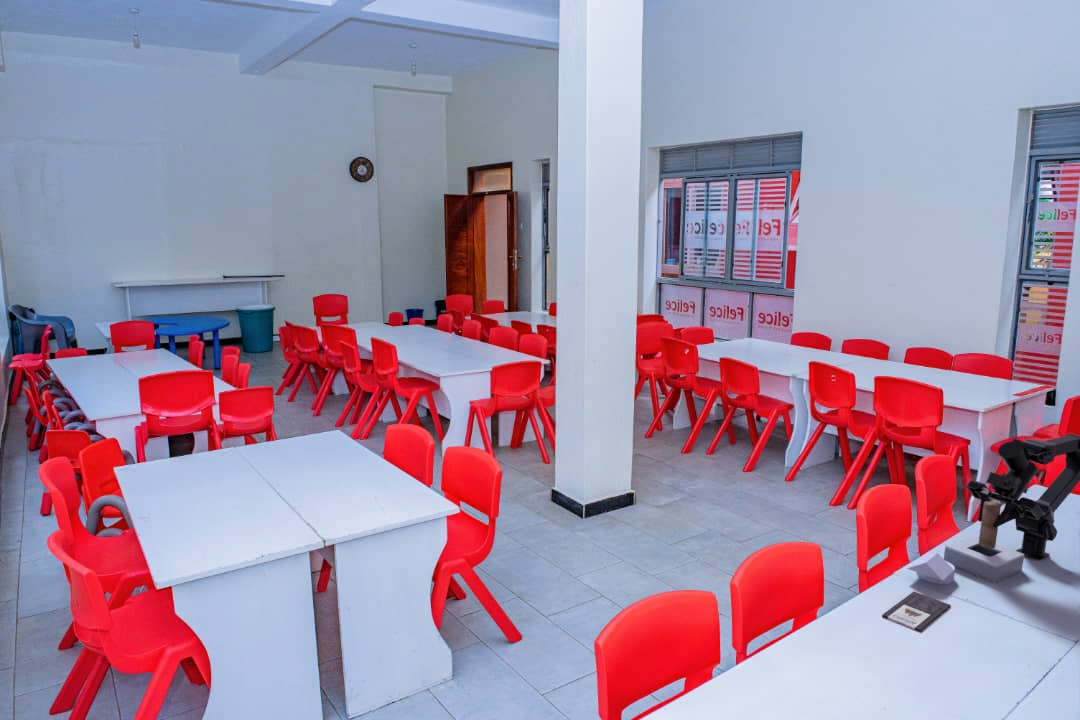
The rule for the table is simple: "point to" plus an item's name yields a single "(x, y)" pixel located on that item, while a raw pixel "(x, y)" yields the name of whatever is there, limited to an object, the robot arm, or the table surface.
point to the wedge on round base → (934, 569)
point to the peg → (989, 524)
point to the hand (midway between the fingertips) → (986, 523)
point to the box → (984, 559)
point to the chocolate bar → (916, 611)
